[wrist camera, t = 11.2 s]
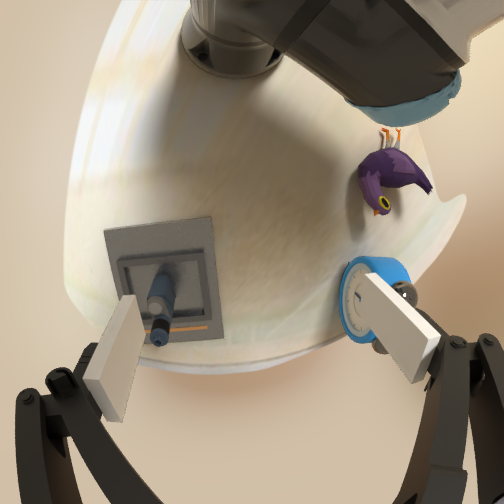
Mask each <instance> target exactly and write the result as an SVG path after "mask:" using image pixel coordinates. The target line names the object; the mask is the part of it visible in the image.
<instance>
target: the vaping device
mask: <svg viewBox="0 0 504 504" xmlns="http://www.w3.org/2000/svg"><path fill="white" fill-rule="evenodd" d="M174 304H175V294H174V291H173V288H172V285H171V282H170V279H169V277H168V276H167V275H164V274H161V275H158V276H156V277H155V278H154V279H153V282H152V285H151V288H150V291H149V293H148V296H147V306H148V307H147V309H148V311H149V313H150V314H151V317H152V319H153V324H152V328H151V332H150V341H151V342H152V343H153V344H154V345H155V346H157V347H160V346H164V345H166V344H167V343H168V339H169V333H170V326H171V324H172V316H173V310H174Z"/></svg>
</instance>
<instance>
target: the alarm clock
mask: <svg viewBox="0 0 504 504" xmlns="http://www.w3.org/2000/svg"><path fill="white" fill-rule="evenodd" d="M369 273H376V274H377V275H378V276H380V277H381V278H382V279H383V280H384V281H385V282H386V283H387V284H388V285H389V286H390V287H392V288H393V289H394V290H395V291H396V292H397V293H398V294H399V295H400V296H401V297H402V298H403V299H404V300H405V301H406V302H408V303H409V304H410V305H411V306H412V307H413V308H414V309H415V307H416V305H417V302H418V294H417V290H416V288H415V287H414V285H413V284H412V283H411V280H410V277H409V275H408V273H407V271H406V269H405V268H404V266H403V265H402V264H401V263H400V262H399V261H398V260H396V259H394V258H389V257H369V256H361V257H357V258H355V259H354V260H353V261H351V263H350V262H349V263H348V267H347V268H346V270H345V273H344V275H343V278H342V282H341V286H340V295H339V308H340V316H341V320H342V324H343V327H344V329H345V331H346V333H347V335H348V336H349V337H350V338H351V339H352V340H353V341H354V342H356V343H372V347H373V349H374V351H376V352H377V353H379V354H389V353H388V351H387V350H386V349H385V347H384V346H383V345H382V343H381V342H380V341H379V339H378V338H377V337H376V335H375V334H374V333H373V331H372V330H371V329H370V327H369V326H368V325H367V323H366V322H365V321H364V320H363V318H362V317H361V316H360V314H359V308H360V302H361V295H362V288H363V281H364V274H369Z"/></svg>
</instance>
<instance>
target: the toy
mask: <svg viewBox="0 0 504 504" xmlns="http://www.w3.org/2000/svg"><path fill="white" fill-rule="evenodd" d="M382 129H383V130H382V131H384V132H386V138H387V140H386V147H385V149H382V150H379V151H376V152H373V153H370V154H369V155H368V156H367V157H366V158H365V159H364V160H363V162H362V163H361V164H360V165H359V166H358V175H359V185H360V187H361V190H362V193H363V196H364V199H365V200H366V201H367V203H368V204H369V205H370V206H371V208H372V209H373V210H374V216H375V215H377V214H381V215H386V214H388V213H389V212H390V211H391V205H390V203H389V202H388V200H387V199H386V198H385V197H384V195H383V193H382V189H381V186H384V187H388V188H400V187H403V186H405V185H409V184H413V183H415V184H417V185H418V186H420V187H421V188H422V189H423V190H424V191H425V192H426V193H427V194H428V193H429V192H430V191H431V189H432V188H433V187H432V186H431V184H430V182H429V180H428V179H427V177H426V175H425V174H424V172H423V171H422V170H421V169H420V168H419V167H418V166H417V165H416V164H415V162H414V161H413V160H412V159H411V158H410V157H409V156H408V155H407V154H405V153H404V152H402V151H400V150H399V146H400V130H401V129H400V130H398V129H396V131H397V132H398V138H397V141H396V144H395V146H394V147H393V148H390V140H389V130H387V129H384V128H382ZM431 192H432V191H431ZM431 192H430V193H431ZM430 193H429V194H430ZM429 194H428V195H429Z"/></svg>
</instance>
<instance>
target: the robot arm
mask: <svg viewBox="0 0 504 504" xmlns="http://www.w3.org/2000/svg"><path fill="white" fill-rule="evenodd" d="M190 4H191V7H190V8H189V10H188V11H187V13H186V15H185V17H184V19H183V23H182V28H181V36H182V41H183V45H184V49H185V51H186V53H187V55H188V56H189V58H190V59H191V60H192V61H193V62H194V63H195V64H196V65H197V66H198V67H200V68H201V69H203V70H204V71H206V72H208V73H210V74H213V75H216V76H219V77H224V78H232V79H240V78H248V77H253V76H256V75H259V74H262V73H264V72H266V71H268V70H269V69H271V68H272V67H273V66H275V65H276V64H277V63H278V62H279V61H280V59H281V58H282V57H283V56H284V55H286V56H288V57H289V58H291V59H292V60H294V61H295V62H297V63H298V64H300V65H301V66H303V67H304V68H305V69H307V70H308V71H310V72H311V73H313V74H314V75H315V76H317V77H318V78H319V79H321V80H322V81H323V82H325V83H326V84H327V85H329V86H330V87H331V88H333V89H334V90H335V91H337V92H338V93H339V94H340V95H342V96H343V97H344V99H345V101H346V102H347V103H349V104H350V105H351V106H353V107H356V108H358V109H359V110H361V111H362V112H363V113H364V114H366V115H367V116H368V117H369V118H371V119H372V120H373V121H375V122H377V123H379V124H383V125H385V126H390V127H403V126H409V125H413V124H416V123H419V122H422V121H424V120H426V119H428V118H431V117H432V116H434V115H436V114H437V113H439V112H440V111H442V110H443V109H444V108H445V107H446V106H447V105H449V99H450V98H454V97H455V96H456V95H457V94H458V92H459V90H460V87H461V75H460V71H459V68H460V67H462V66H464V65H465V64H466V63H468V62H469V58H470V43H471V40H472V38H474V37H476V36H477V35H479V34H480V33H482V32H483V31H485V30H487V29H488V28H490V27H492V26H493V25H495V24H497V23H498V22H500V21H501V20H503V19H504V0H190ZM297 37H298V38H297ZM293 42H294V43H293ZM289 47H290V48H289ZM359 314H360V316H361V317H362V318H363V320H364V321H365V322H366V323H367V325H368V326H369V327H370V329H371V330H372V331H373V333H374V334H375V335H376V337H377V338H378V339H379V341H380V342H381V343H382V345H383V346H384V347H385V349H386V350H387V351H388V353H389V354H390V355H391V357H392V358H393V359H394V361H395V362H396V364H397V365H398V366H399V368H400V369H401V371H402V372H403V373H404V374H405V376H406V377H407V379H408V380H409V382H410V383H411V384H413V383H416V382H418V381H421V380H423V379H424V377H425V374H426V372H427V371H428V372H429V373H430V375H431V376H430V379H429V381H428V383H427V385H426V387H425V389H424V391H426V390H427V393H426V399H425V404H424V409H423V413H422V418H421V422H420V427H419V431H418V435H417V438H416V442H415V446H414V449H413V453H412V456H411V459H410V463H409V466H408V469H407V473H406V475H405V478H404V481H403V484H402V487H401V489H400V492H399V494H398V496H397V497H396V499H395V500H394V502H393V503H392V504H462V501H463V496H464V492H465V487H466V482H467V474H468V473H467V471H466V470H463V469H462V465H463V459H464V452H465V445H466V437H467V427H468V415H469V418H470V424H471V429H472V436H473V443H474V451H475V459H476V469H477V484H478V499H479V504H504V351H503V349H502V347H501V345H500V343H499V341H498V339H497V338H496V337H494V336H493V335H491V334H487V333H484V334H481V335H480V336H479V339H478V341H477V342H474V343H467V341H466V340H464V339H463V338H462V337H459V336H453V335H452V336H449V335H448V334H447V333H446V332H445V331H444V330H443V329H441V327H440V326H439V325H438V324H437V323H435V322H434V321H433V320H432V319H430V317H429V316H428V315H427V314H426V313H425V312H423V311H422V310H419V309H417V308H415V309H414V308H413V307H412V306H411V305H410V304H409V303H408V302H406V301H405V300H404V299H403V298H402V297H401V296H400V295H399V294H398V293H397V292H396V291H395V290H394V289H393V288H392V287H390V286H389V285H388V284H387V283H386V282H385V281H384V280H383V279H382V278H381V277H380V276H378V275H377V274H376V273H369V274H364V281H363V288H362V295H361V302H360V308H359ZM145 336H146V333H145V330H144V326H143V323H142V319H141V315H140V311H139V307H138V304H137V300H136V295H123V296H122V298H121V300H120V302H119V304H118V305H117V307H116V309H115V311H114V313H113V315H112V317H111V319H110V321H109V323H108V325H107V327H106V329H105V331H104V333H103V335H102V337H101V339H100V341H99V343H90V344H89V345H88V346H87V347H86V348H85V349H84V351H83V353H82V355H81V358H80V359H79V361H78V363H77V365H76V367H75V369H74V371H73V373H72V372H71V370H70V369H68V368H65V367H62V368H61V367H60V368H56V369H54V370H52V371H51V372H50V373H49V374H48V375H47V376H46V379H45V384H46V385H47V387H48V389H49V391H50V392H51V394H49V395H42V396H41V395H40V394H39V392H38V391H37V390H36V389H34V388H27V389H24V390H23V391H21V392H20V393H19V395H18V396H17V399H16V411H15V412H16V413H15V444H16V445H15V446H16V463H17V474H18V483H19V491H20V497H21V503H22V504H83V503H82V500H81V497H80V493H79V490H78V487H77V483H76V479H75V475H74V471H73V467H72V462H71V458H70V453H69V448H68V443H67V437H68V436H71V437H72V439H73V441H74V443H75V445H76V447H77V449H78V451H79V453H80V454H81V456H82V458H83V460H84V462H85V463H86V465H87V467H88V469H89V470H90V472H91V473H92V475H93V477H94V479H95V480H96V482H97V483H98V485H99V487H100V488H101V490H102V491H103V493H104V494H105V496H106V497H107V498H108V500H109V502H110V503H111V504H164V503H163V502H162V501H161V500H160V499H159V498H158V497H157V496H156V495H155V494H154V492H153V491H152V490H151V489H150V488H149V487H148V486H147V484H146V483H145V482H144V481H143V479H142V478H141V477H140V476H139V475H138V473H137V472H136V471H135V470H134V468H133V467H132V466H131V464H130V463H129V462H128V460H127V459H126V458H125V456H124V455H123V454H122V452H121V451H120V449H119V448H118V447H117V445H116V444H115V442H114V441H113V439H112V438H111V436H110V435H109V433H108V432H107V430H106V429H105V427H104V426H103V424H102V423H101V421H100V419H101V416H102V414H103V416H104V417H105V419H106V420H107V421H110V422H121V423H122V422H123V418H124V413H125V410H126V406H127V401H128V397H129V393H130V389H131V386H132V382H133V378H134V374H135V371H136V367H137V364H138V360H139V357H140V353H141V350H142V346H143V343H144V339H145ZM484 375H485V376H484Z"/></svg>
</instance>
